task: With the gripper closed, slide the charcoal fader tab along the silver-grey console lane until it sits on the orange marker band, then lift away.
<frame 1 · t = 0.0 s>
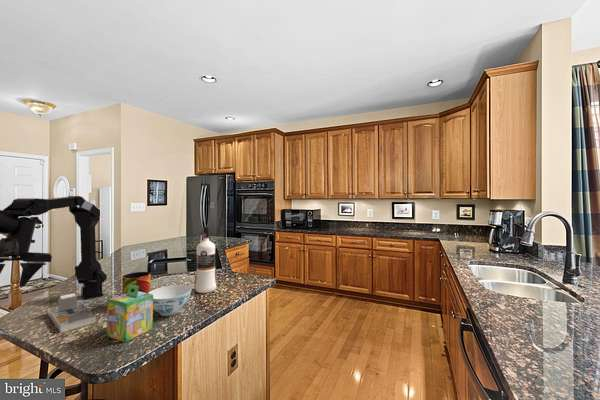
hand: (6, 286, 78), 15 cm above the counter, tool pointing down, fingers open, 9 cm apart
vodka: (205, 290, 120), on the counter
console: (71, 318, 91), on the counter
mug: (136, 303, 105), on the counter
chalk box: (130, 333, 81), on the counter
chinaware: (169, 312, 96), on the counter
fader tab: (67, 301, 94), point 5 cm above the counter, slide at 0.0 cm
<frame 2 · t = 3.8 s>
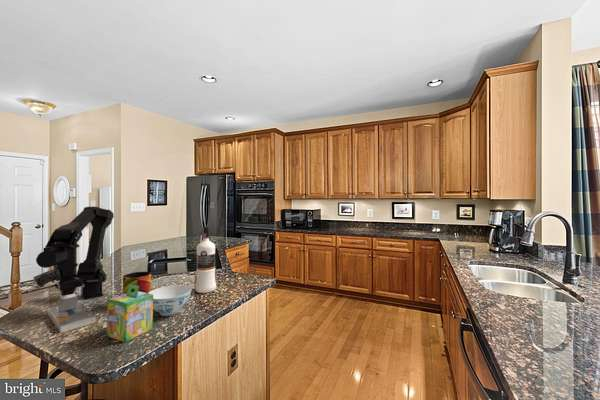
hand: (65, 302, 96), 4 cm above the counter, tool pointing down, fingers closed
fader tab: (68, 302, 94), point 5 cm above the counter, slide at 0.5 cm, touching gripper
everything else where it was.
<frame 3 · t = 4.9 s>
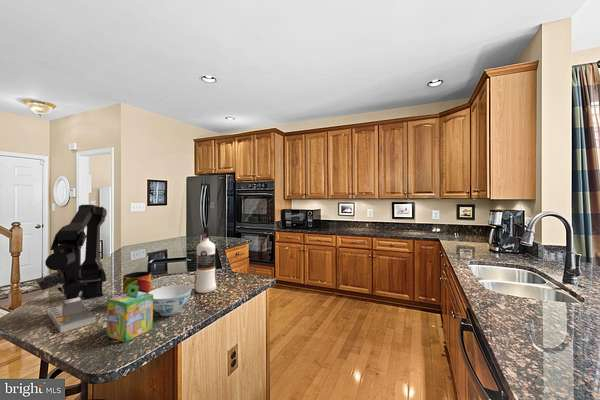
hand: (69, 307, 92), 4 cm above the counter, tool pointing down, fingers closed
fader tab: (72, 306, 90), point 5 cm above the counter, slide at 6.8 cm, touching gripper
everything else where it was.
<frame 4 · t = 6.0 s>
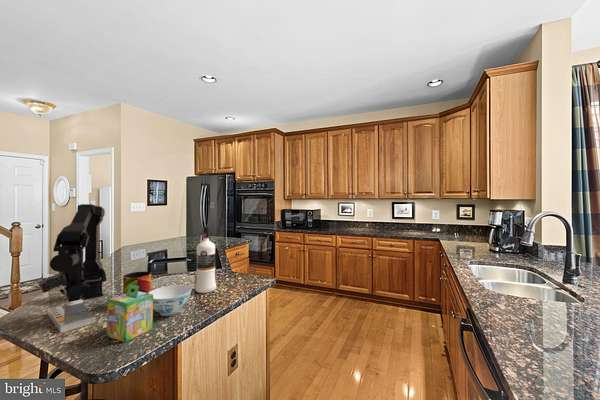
hand: (72, 309, 90), 4 cm above the counter, tool pointing down, fingers closed
fader tab: (74, 308, 88), point 5 cm above the counter, slide at 10.1 cm, touching gripper
everything else where it was.
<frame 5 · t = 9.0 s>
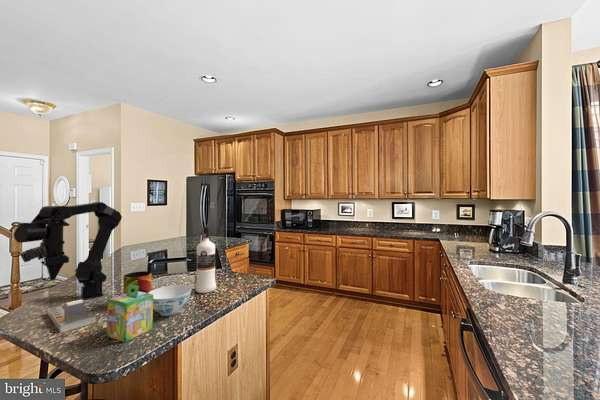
hand: (52, 279, 97), 12 cm above the counter, tool pointing down, fingers closed
fader tab: (74, 308, 88), point 5 cm above the counter, slide at 10.1 cm
everything else where it was.
at the end: fader tab slide at 10.1 cm; the gripper is holding nothing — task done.
